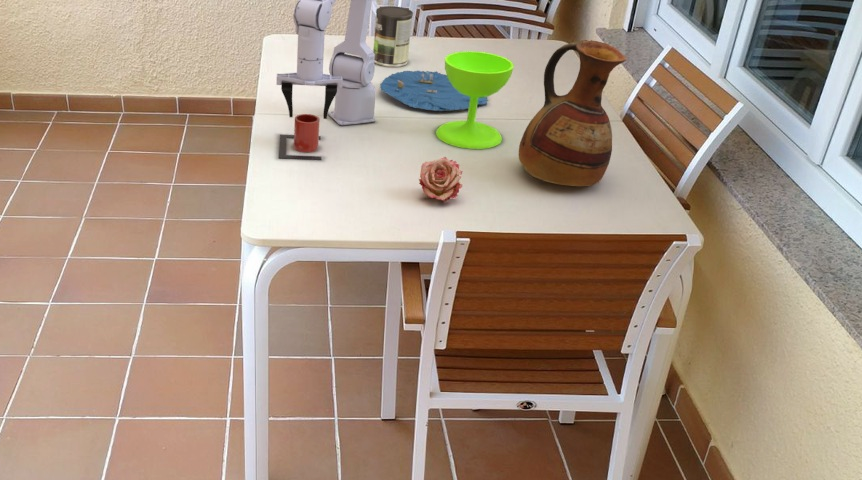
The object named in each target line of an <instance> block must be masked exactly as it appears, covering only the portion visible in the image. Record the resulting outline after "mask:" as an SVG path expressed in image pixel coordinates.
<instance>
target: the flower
mask: <svg viewBox="0 0 862 480" xmlns="http://www.w3.org/2000/svg"><path fill="white" fill-rule="evenodd" d="M462 174H463V170H461V169H460V164H459V163H457V161H456V160H453V159H450V160H449V159H448V158H447V156H444V157H442V158H441V157H440V158H438V159H435V160H432V161H425V162H423V163H422V165H421V167H420V175H419V178H418V181H419V183H418V184H419V185H420V186H421V189H422V192H423V194H424V195H425V196H426V197H424V198H423V199H424V200H425V199H427V198H430V199H434V198H435V200H439V201H442V202H443V203H446V202H447V201H448V200H450V199H452V200H453V199H456V198H457V197H459V194H458V193H459V192H460V190H461V189H462V188H463V184H462V183H461V181H460V180H461V179H462Z"/></svg>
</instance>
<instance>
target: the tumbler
mask: <svg viewBox="0 0 862 480" xmlns="http://www.w3.org/2000/svg"><path fill="white" fill-rule="evenodd" d="M293 129H294V130H293V131H294V132H293V135H294V138H293V149H294V150H295V151H296V152H300V153H314V152H316V151H318V149H319V141H320V140H319V136H320V117H319V116H317V115H316V114H312V113H300V114H297V115H295V116H294V128H293Z"/></svg>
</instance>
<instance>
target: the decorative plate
mask: <svg viewBox="0 0 862 480" xmlns="http://www.w3.org/2000/svg"><path fill="white" fill-rule="evenodd" d="M379 87H380V88H379V89H380V91H382V92H383V93H385V94H387V95H389V96H390V97H392V98H394V100H397V101H399V102H400V103H403V104H405V105H408V106H409V107H410V108H414V109H421V110H426V111H436V112H437V111H439V112H443V111H448V112H449V111H451V112H453V111H457V110H458V111H461V110H469V103H470V97H469V96H466V95H464V94H461V93H460V92H459V91H458V90H456V89H455V88H454V87H453V86H452V84H451V83H450V81H449V79H448V77H447V74H444V73H441V72H439V71H429V70H426V71H424V70H403V71H397V72H395V73H391V74H390V75H389V76H387V77H385V78H384V79H383V80H382V81H381V83H380V84H379ZM483 105H488V97H481V98H478V103H477V106H483Z"/></svg>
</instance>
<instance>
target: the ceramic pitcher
mask: <svg viewBox="0 0 862 480" xmlns="http://www.w3.org/2000/svg"><path fill="white" fill-rule="evenodd" d="M569 51H575V52H576V53H578V57H579V71H578V74H577V76H576V79H575V81H574V84H573V85H572V87H571V89H570V90H569V91H568V92H567V93H566V94H563V95H558V94H557V93H556V91H555V71H556V67H557V65H558V63H559V62H560V60H561V59H562V57H563V56H564V55H565V54H566V53H567V52H569ZM626 60H627V57H626V56H625V55H624V54H623V53H621V52H620V50H619V49H617V48H616V47H614V46H612V45H610V44H608V43H606V42H602V41H598V40H592V39H590V40H587V39H583V40H582V39H581V40H578V41H576V42H570V43H567V44H563V45H562V46H559V48H557V49H556V50H555V51H554V52H553V53H552V55H551V57H550V58H549V60H548V62H547V63H546V66H545V68H544V73H543V90H544V104H543V106H542V107H541V108H540V109H539V111H537V112H536V113H535V115H534V116H533V118H531V120H530V121H529V123H528V124H527V125H526V128H525V130H524V132H523V134H522V137H521V139H520V142H519V145H518V161H519V163H520V164H521V166H522V167H523V168H524V169H525V171H526V172H527V173H528V174H529V175H530V176H532V177H534V178H536V179H538V180H540V181H542V182H547V183H551V184H555V185H560V186H561V185H562V186H567V187H569V186H570V187H585V186H587V187H589V186H594V185H596V184H598V183H600V182H601V180H602V179H603V178H604V175H605V174H606V171H607V170H608V167H609V164H610V161H611V157H612V152H613V129H612V124H611V121H610V117H609V115H608V114H607V112H606V110H605V109H604V108H603V106H602V98H603V97H602V96H603V91H604V88H605V87H606V85H607V83H608V80H609V77H610V74H611V72H612V71H613V70H614V69H615V68H616V67H617V66H619V65H621V64H623V63H625V62H626Z"/></svg>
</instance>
